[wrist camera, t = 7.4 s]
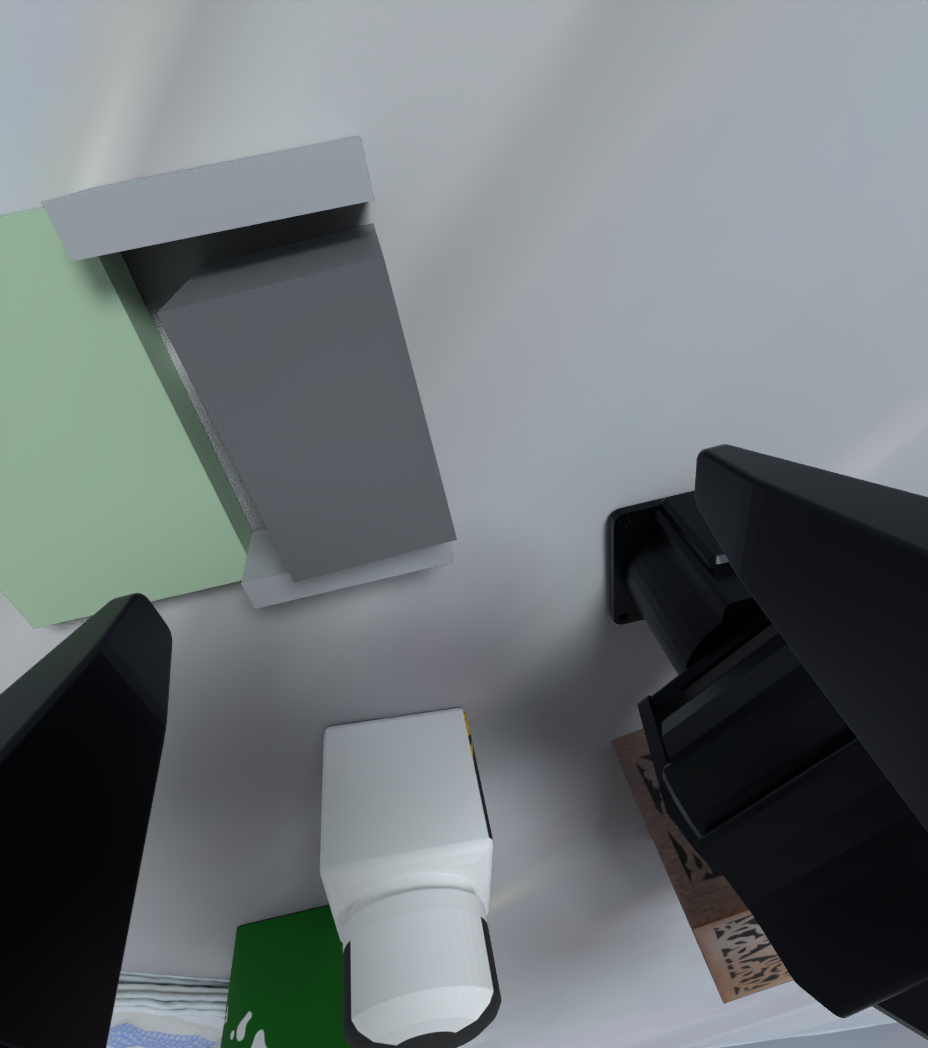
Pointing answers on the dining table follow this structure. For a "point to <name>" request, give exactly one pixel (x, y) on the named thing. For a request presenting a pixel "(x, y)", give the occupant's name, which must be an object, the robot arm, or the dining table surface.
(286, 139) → the dining table surface
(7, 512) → the deck
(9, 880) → the robot arm
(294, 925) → the milk carton
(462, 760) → the medicine bottle
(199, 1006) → the dish towel
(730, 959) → the tissue box cover
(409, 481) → the gray cuboid pillar
